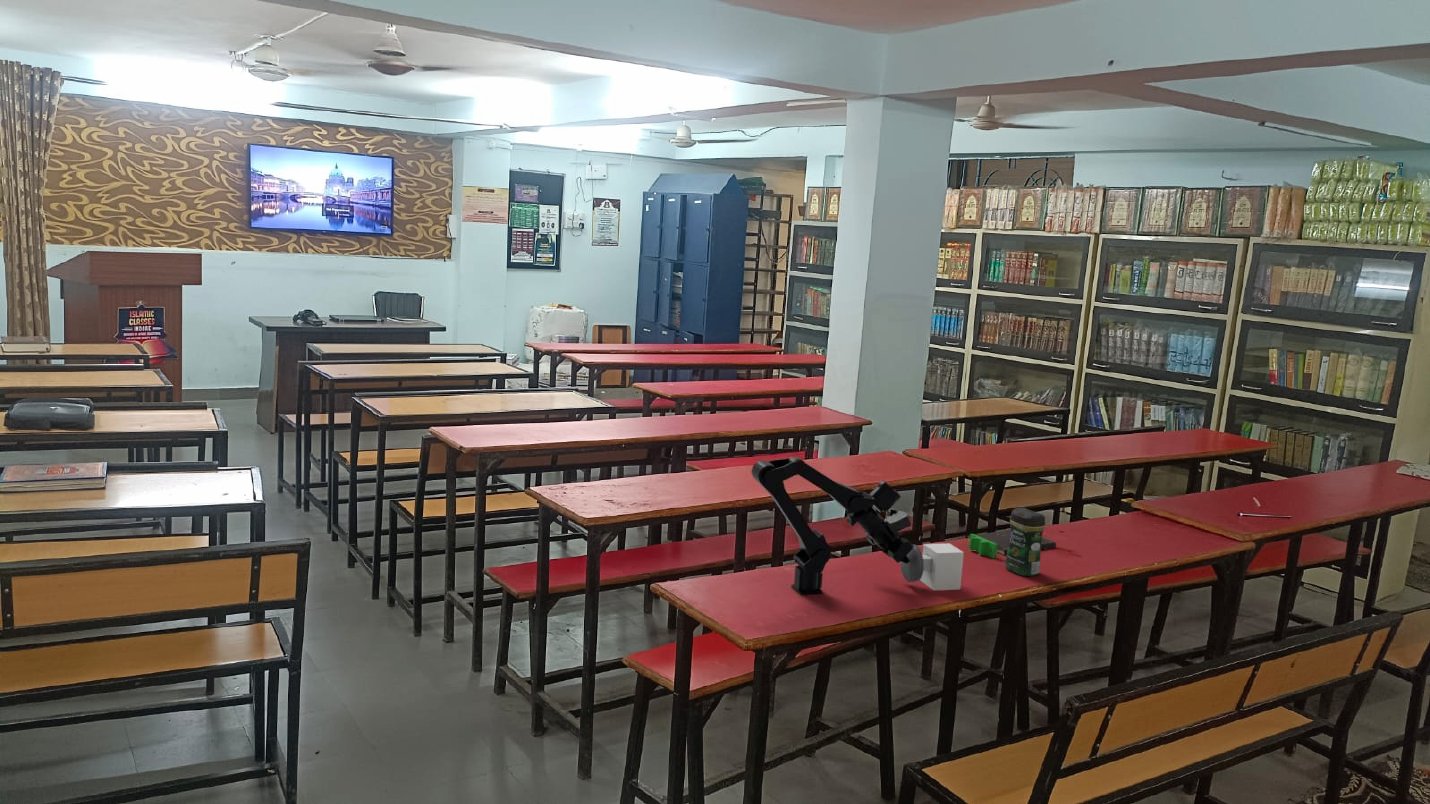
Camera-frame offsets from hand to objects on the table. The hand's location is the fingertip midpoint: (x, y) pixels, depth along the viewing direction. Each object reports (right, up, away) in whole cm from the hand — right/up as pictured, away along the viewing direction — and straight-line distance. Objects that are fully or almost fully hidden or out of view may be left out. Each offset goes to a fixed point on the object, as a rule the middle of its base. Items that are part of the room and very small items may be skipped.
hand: (907, 562), depth 267 cm
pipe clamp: (+29, -3, +36) cm, 46 cm away
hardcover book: (+42, -3, +47) cm, 63 cm away
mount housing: (+10, -7, +4) cm, 12 cm away
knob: (+3, -5, +2) cm, 7 cm away
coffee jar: (+37, -6, +19) cm, 42 cm away
